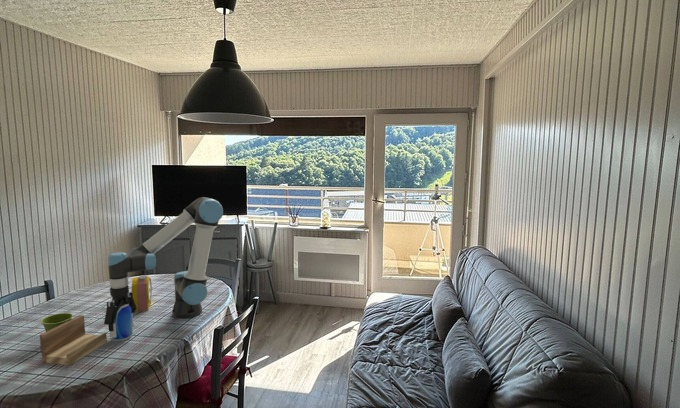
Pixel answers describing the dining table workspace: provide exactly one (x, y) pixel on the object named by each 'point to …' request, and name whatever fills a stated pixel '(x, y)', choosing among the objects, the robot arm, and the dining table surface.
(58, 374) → the dining table surface
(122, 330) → the beer can
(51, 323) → the plant pot
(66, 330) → the cleat board
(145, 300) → the alarm clock
